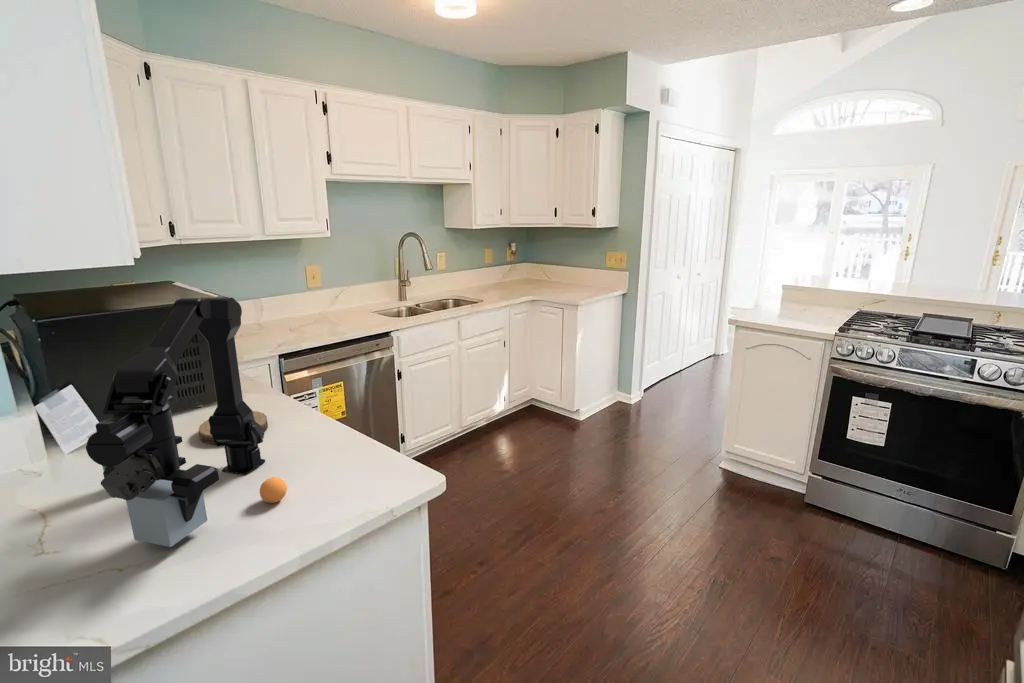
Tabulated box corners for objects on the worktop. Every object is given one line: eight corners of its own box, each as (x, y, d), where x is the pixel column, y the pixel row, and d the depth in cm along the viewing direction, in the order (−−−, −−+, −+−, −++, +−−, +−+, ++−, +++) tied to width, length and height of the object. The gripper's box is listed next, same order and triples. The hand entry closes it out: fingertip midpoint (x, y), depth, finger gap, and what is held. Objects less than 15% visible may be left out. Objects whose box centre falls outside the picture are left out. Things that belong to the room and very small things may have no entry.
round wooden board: (263, 416, 143) (262, 406, 142) (272, 437, 130) (271, 426, 129) (198, 428, 134) (197, 418, 134) (201, 452, 122) (199, 441, 121)
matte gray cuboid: (134, 539, 86) (124, 494, 84) (173, 514, 93) (165, 472, 91) (170, 547, 84) (161, 501, 82) (207, 520, 92) (200, 477, 89)
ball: (255, 505, 100) (252, 483, 98) (272, 492, 104) (269, 471, 103) (277, 509, 99) (274, 487, 97) (293, 495, 103) (290, 474, 102)
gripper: (60, 451, 79) (81, 536, 83) (155, 467, 74) (173, 555, 79) (127, 423, 89) (143, 499, 93) (215, 435, 85) (227, 515, 89)
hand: (169, 517), depth 88 cm, fingers closed on matte gray cuboid, 8 cm apart
